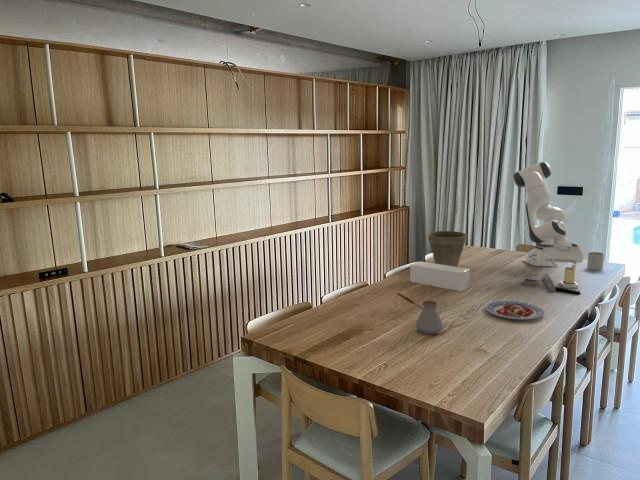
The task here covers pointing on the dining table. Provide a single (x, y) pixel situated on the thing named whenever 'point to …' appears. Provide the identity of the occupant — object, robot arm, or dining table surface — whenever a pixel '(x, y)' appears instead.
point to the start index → (568, 285)
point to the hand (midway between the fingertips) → (564, 267)
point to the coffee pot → (427, 317)
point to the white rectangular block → (440, 275)
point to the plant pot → (447, 246)
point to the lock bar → (569, 275)
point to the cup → (595, 261)
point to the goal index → (529, 282)
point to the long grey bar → (549, 283)
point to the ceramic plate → (515, 310)
